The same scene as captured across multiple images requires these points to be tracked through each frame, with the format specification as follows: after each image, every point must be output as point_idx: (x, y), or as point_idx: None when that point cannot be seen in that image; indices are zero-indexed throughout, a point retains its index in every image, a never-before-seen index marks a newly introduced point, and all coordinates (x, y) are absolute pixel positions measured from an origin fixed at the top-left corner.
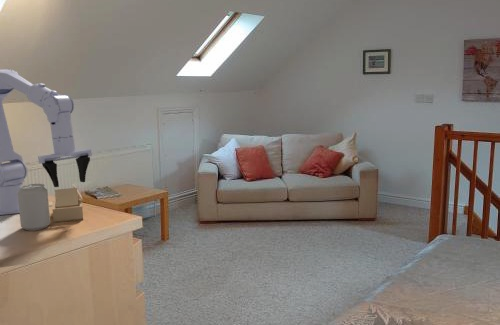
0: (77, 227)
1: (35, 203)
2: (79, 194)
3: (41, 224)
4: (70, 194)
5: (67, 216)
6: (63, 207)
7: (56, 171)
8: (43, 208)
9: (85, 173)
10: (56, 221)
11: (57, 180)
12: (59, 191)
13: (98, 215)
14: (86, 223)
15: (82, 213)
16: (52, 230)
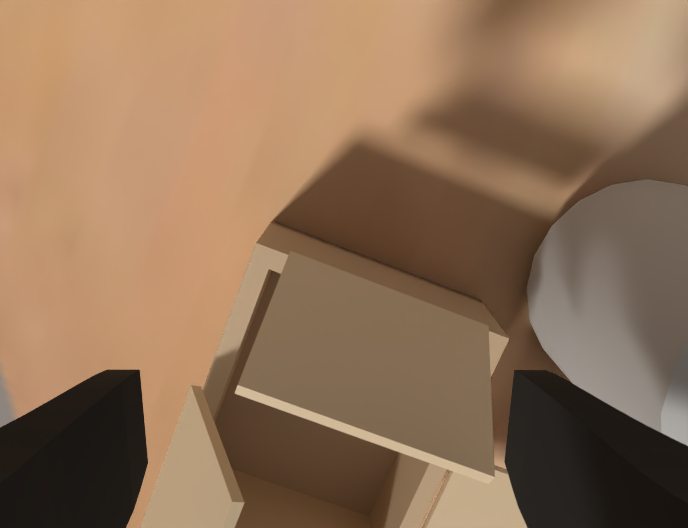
0: (398, 30)
1: None
2: (186, 463)
3: (646, 182)
4: (335, 355)
5: (385, 272)
6: (315, 524)
7: (662, 476)
8: (685, 207)
9: (25, 417)
10: (463, 294)
11: (566, 402)
12: (444, 436)
13: (126, 251)
14: (296, 90)
15: (267, 230)
16: (575, 102)
